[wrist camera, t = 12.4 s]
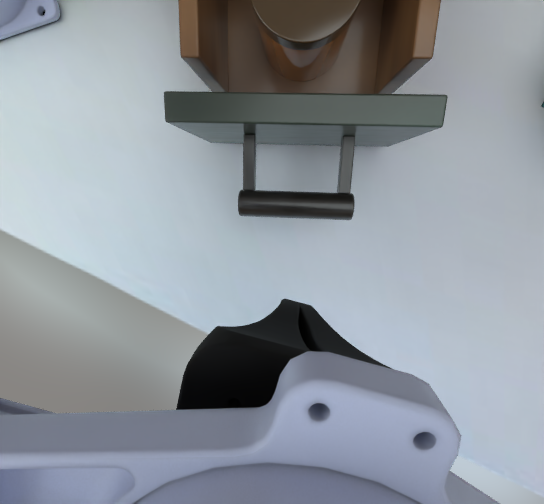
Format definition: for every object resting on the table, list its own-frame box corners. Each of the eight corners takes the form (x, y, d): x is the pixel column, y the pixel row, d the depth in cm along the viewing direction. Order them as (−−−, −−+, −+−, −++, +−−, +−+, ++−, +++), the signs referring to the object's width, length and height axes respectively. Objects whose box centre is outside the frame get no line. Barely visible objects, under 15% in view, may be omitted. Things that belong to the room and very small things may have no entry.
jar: (352, 69, 16) (377, 22, 11) (271, 92, 17) (262, 56, 12) (337, -28, 15) (357, -124, 10) (251, 0, 16) (232, -79, 11)
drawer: (380, 214, 19) (426, 231, 13) (210, 207, 20) (170, 221, 13) (422, -132, 15) (525, -380, 8) (204, -124, 16) (138, -348, 9)
